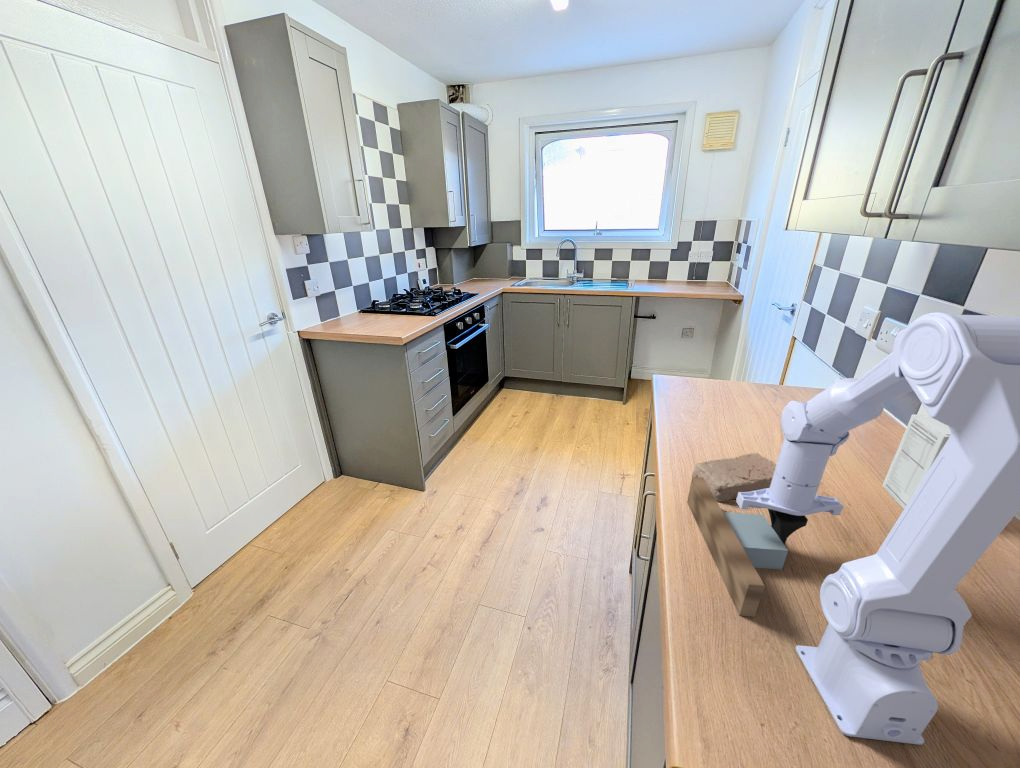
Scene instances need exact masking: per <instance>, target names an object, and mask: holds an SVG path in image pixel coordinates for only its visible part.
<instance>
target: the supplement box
mask: <svg viewBox="0 0 1020 768" xmlns="http://www.w3.org/2000/svg"><path fill="white" fill-rule="evenodd" d="M950 435H951V431H950V428H949V426H947V425H945V424H944V423H942V422H940V421H938V420H936V419H934V418H932V417H931V416H930V415H925V414H915V413H913V414H911V415H910V419H909V421H908V423H907V425H906V428H905V431H904V433H903V435H902V438H901V440H900V443H899V445H898V448H897V449H896V452H895V454H894V456H893V459H892V461H891V464H890V466H889V467H888V471H887V473H886V476H885V478H884V480H883V482H882V485H881V486H882V487H883V488H884V490H885V491H886V492H887V493H888V494H889V495H890V496H891V497H892V499H893V500H894V501H895V502H896V503H898V505H899V506H900V507H901V508H902V509H903V510H904V509H905V507H906V505H907V504H908V502H909V501H910V499H911V497H912V496H913V494H914V493H915V491H916V490H917V488H918V486H919V485H920V483H921V482H922V480H923V478H924V477H925V475H926V474H927V472H928V470H929V469H930V467H931V466H932V464H933V463H934V461H935V459H936V458H937V456H938V455H939V453H940V451H941V450H942V448H943V447H944V445H945V443H946V442H947V440H948V439H949V437H950Z"/></svg>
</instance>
